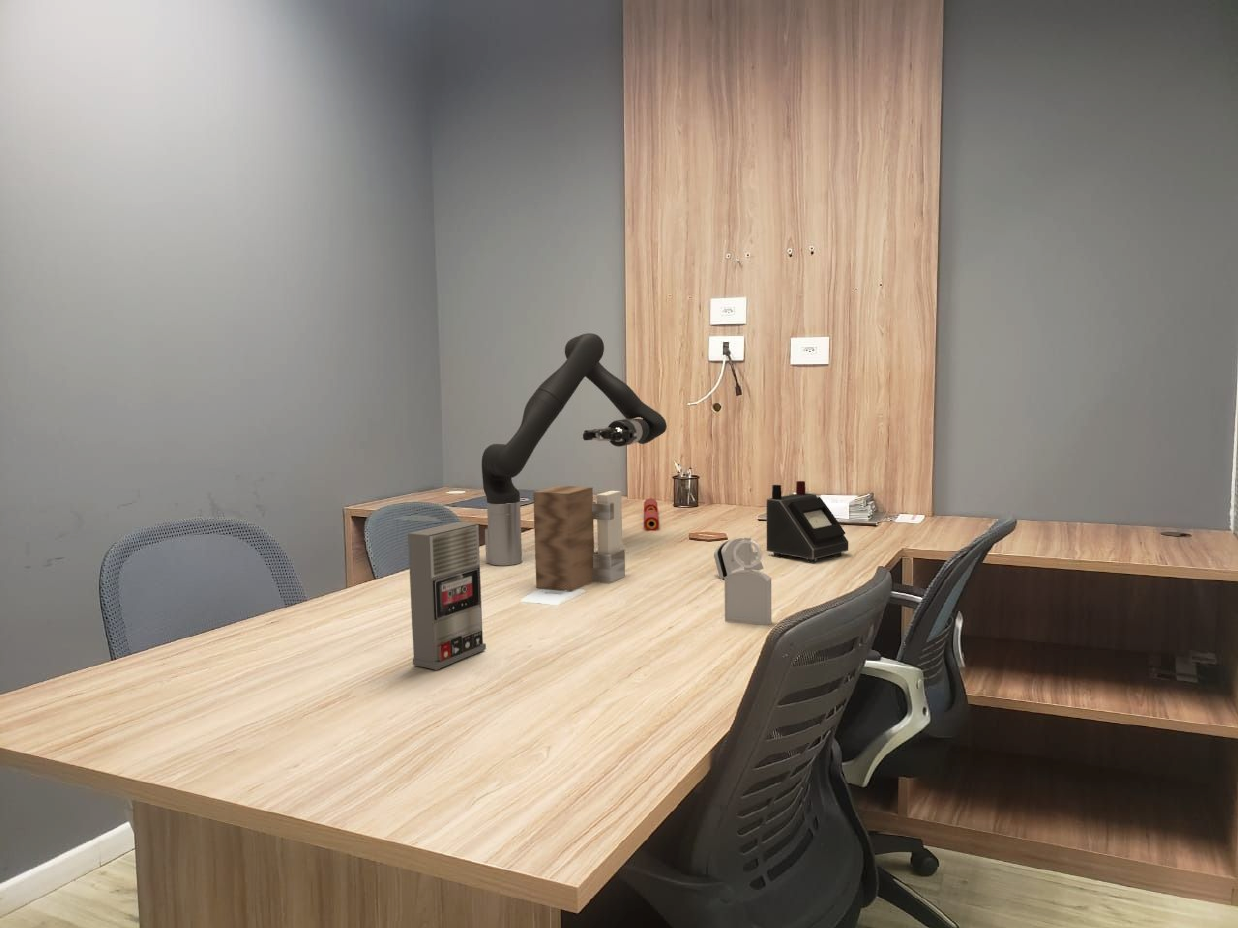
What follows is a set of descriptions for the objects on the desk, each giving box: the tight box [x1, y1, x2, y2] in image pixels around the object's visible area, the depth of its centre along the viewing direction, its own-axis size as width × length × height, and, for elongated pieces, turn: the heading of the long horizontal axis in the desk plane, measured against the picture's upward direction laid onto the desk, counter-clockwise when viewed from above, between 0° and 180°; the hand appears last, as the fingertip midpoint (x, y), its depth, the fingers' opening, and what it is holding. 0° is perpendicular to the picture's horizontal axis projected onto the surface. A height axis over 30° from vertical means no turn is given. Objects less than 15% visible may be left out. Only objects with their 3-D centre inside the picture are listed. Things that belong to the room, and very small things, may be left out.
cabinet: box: [532, 485, 626, 592], centre depth 236 cm, size 15×20×24 cm
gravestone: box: [723, 536, 772, 626], centre depth 197 cm, size 3×9×18 cm, turn 65°
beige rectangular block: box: [596, 490, 623, 555], centre depth 240 cm, size 3×8×18 cm, turn 154°
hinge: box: [713, 538, 764, 580], centre depth 243 cm, size 17×5×10 cm, turn 148°
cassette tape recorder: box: [407, 521, 487, 671], centre depth 176 cm, size 14×6×25 cm, turn 148°
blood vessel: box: [643, 497, 660, 532], centre depth 328 cm, size 42×5×5 cm, turn 178°
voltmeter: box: [765, 480, 849, 564], centre depth 262 cm, size 16×16×20 cm
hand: (598, 436), depth 256 cm, fingers open, 8 cm apart
